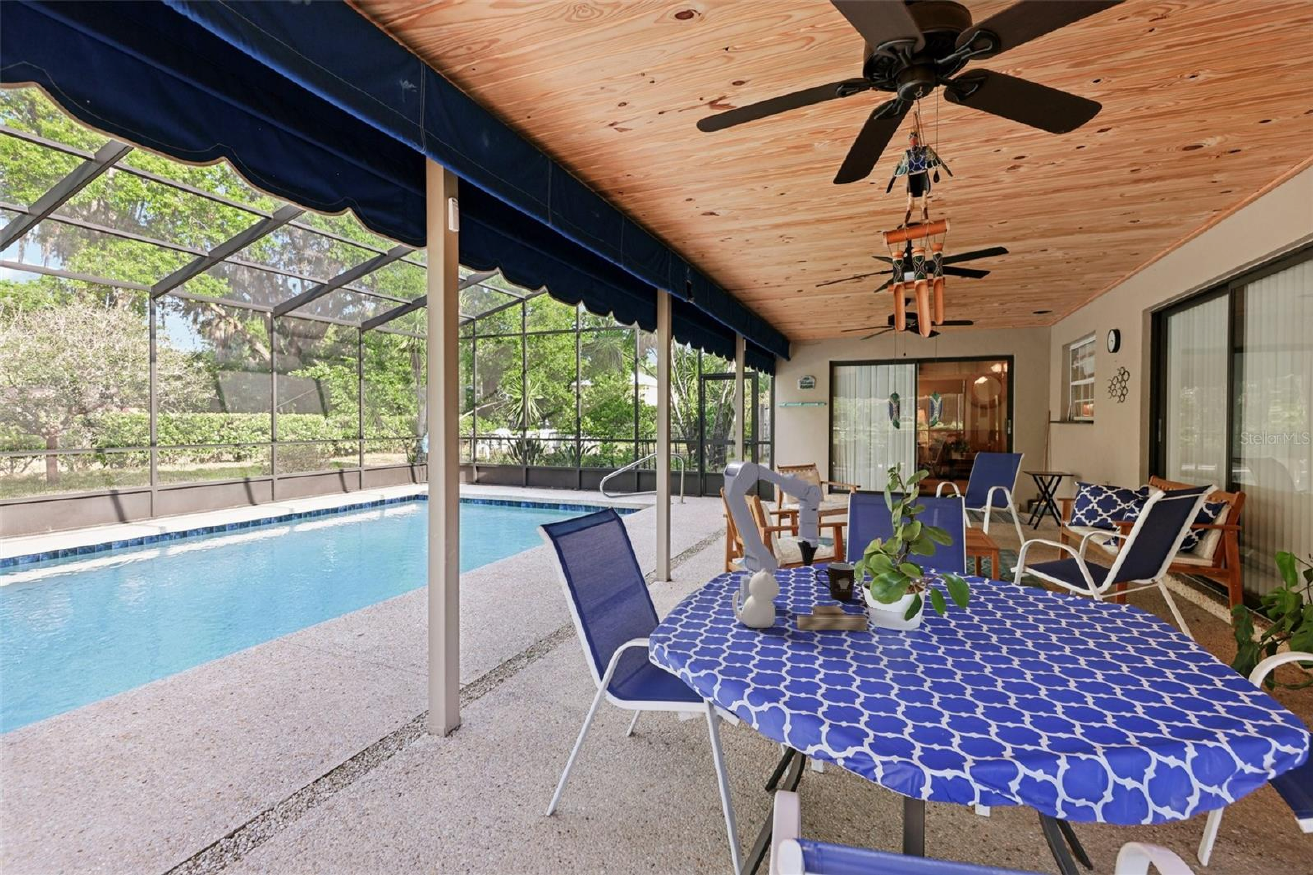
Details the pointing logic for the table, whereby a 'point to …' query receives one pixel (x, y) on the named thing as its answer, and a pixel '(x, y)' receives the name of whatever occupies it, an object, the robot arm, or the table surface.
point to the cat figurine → (758, 601)
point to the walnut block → (827, 611)
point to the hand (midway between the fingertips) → (807, 565)
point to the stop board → (831, 622)
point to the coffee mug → (839, 581)
